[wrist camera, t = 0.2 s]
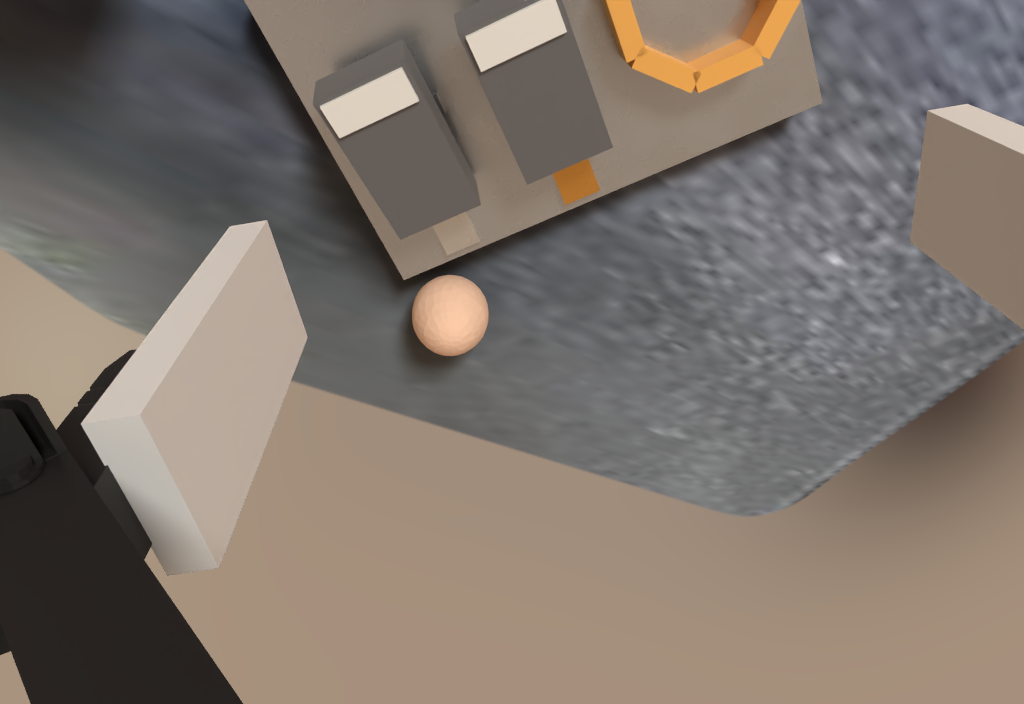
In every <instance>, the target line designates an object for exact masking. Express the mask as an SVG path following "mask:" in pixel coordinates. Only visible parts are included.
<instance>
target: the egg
mask: <svg viewBox="0 0 1024 704" xmlns="http://www.w3.org/2000/svg"><path fill="white" fill-rule="evenodd" d="M488 316H489V314H488V305H487V302H486V299H485V297H484V295H483V293H482V292H481V290H480V289H479V288H478V287H477V286H476V285H475V284H474V283H473V282H471V281H470V280H468V279H466V278H464V277H461V276H456V275H445V276H439V277H436V278H434V279H432V280H431V281H429V282H428V283H427V284H425V285H424V286H423V287H422V288H421V289H420V291H419V292H418V294H417V296H416V298H415V300H414V303H413V308H412V323H413V328H414V330H415V332H416V335H417V337H418V338H419V340H420V341H421V342H422V343H423V344H424V345H425V346H426V347H427V348H428V349H430V350H431V351H433V352H434V353H437V354H439V355H443V356H456V355H460V354H463V353H465V352H467V351H469V350H470V349H472V348H473V347H474V346H476V345H477V344H478V343H479V341H480V340H481V339H482V337H483V335H484V333H485V330H486V327H487V324H488Z"/></svg>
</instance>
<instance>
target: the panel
mask: <svg viewBox="0 0 1024 704" xmlns="http://www.w3.org/2000/svg"><path fill="white" fill-rule="evenodd" d="M244 1H245V3H246V4H247V6H248V8H249V10H250V11H251V13H252V15H253V17H254V18H255V20H256V22H257V24H258V25H259V27H260V29H261V31H262V33H263V34H264V36H265V38H266V40H267V41H268V43H269V45H270V47H271V48H272V50H273V52H274V54H275V55H276V57H277V59H278V61H279V62H280V64H281V66H282V68H283V69H284V71H285V73H286V75H287V76H288V78H289V80H290V82H291V83H292V85H293V87H294V89H295V90H296V92H297V94H298V96H299V97H300V99H301V101H302V103H303V104H304V106H305V108H306V110H307V111H308V113H309V115H310V117H311V118H312V120H313V122H314V124H315V125H316V127H317V129H318V131H319V132H320V134H321V136H322V138H323V139H324V141H325V143H326V145H327V146H328V148H329V150H330V152H331V153H332V155H333V157H334V159H335V160H336V162H337V164H338V166H339V167H340V169H341V171H342V173H343V174H344V176H345V178H346V180H347V181H348V183H349V185H350V187H351V188H352V190H353V192H354V194H355V195H356V197H357V199H358V201H359V202H360V204H361V206H362V208H363V209H364V211H365V213H366V215H367V216H368V218H369V220H370V222H371V223H372V225H373V227H374V229H375V230H376V232H377V234H378V236H379V237H380V239H381V241H382V243H383V244H384V246H385V248H386V250H387V251H388V253H389V255H390V257H391V258H392V260H393V262H394V264H395V265H396V267H397V269H398V271H399V272H400V274H401V276H402V278H403V279H404V280H406V279H408V278H410V277H413V276H415V275H417V274H420V273H422V272H424V271H427V270H429V269H432V268H434V267H436V266H439V265H441V264H443V263H446V262H448V261H450V260H453V259H455V258H457V257H460V256H462V255H465V254H467V253H469V252H472V251H474V250H476V249H479V248H481V247H483V246H486V245H488V244H490V243H493V242H495V241H498V240H500V239H502V238H505V237H507V236H509V235H512V234H514V233H516V232H519V231H521V230H523V229H526V228H528V227H531V226H533V225H535V224H538V223H540V222H542V221H545V220H547V219H549V218H552V217H554V216H556V215H559V214H561V213H564V212H566V211H568V210H571V209H573V208H575V207H578V206H580V205H582V204H585V203H587V202H590V201H592V200H594V199H597V198H599V197H601V196H604V195H606V194H608V193H611V192H613V191H615V190H618V189H620V188H623V187H625V186H627V185H630V184H632V183H634V182H637V181H639V180H641V179H644V178H646V177H648V176H651V175H653V174H656V173H658V172H660V171H663V170H665V169H667V168H670V167H672V166H674V165H677V164H679V163H681V162H684V161H686V160H689V159H691V158H693V157H696V156H698V155H700V154H703V153H705V152H707V151H710V150H712V149H715V148H717V147H719V146H722V145H724V144H726V143H729V142H731V141H733V140H736V139H738V138H740V137H743V136H745V135H748V134H750V133H752V132H755V131H757V130H759V129H762V128H764V127H766V126H769V125H771V124H773V123H776V122H778V121H781V120H783V119H785V118H788V117H790V116H792V115H795V114H797V113H799V112H802V111H804V110H806V109H809V108H811V107H814V106H816V105H818V104H821V103H822V98H821V94H820V89H819V84H818V79H817V74H816V69H815V64H814V59H813V54H812V49H811V44H810V40H809V35H808V30H807V25H806V20H805V15H804V10H803V5H802V0H801V1H800V3H799V5H798V7H797V9H796V10H795V12H794V14H793V16H792V18H791V20H790V22H789V23H788V25H787V27H786V29H785V31H784V33H783V35H782V37H781V38H780V40H779V42H778V44H777V46H776V48H775V50H774V51H773V53H772V55H771V57H770V59H768V58H766V57H763V56H762V60H763V64H764V65H762V66H759V67H757V68H755V69H753V70H750V71H748V72H746V73H743V74H741V75H739V76H737V77H734V78H732V79H730V80H727V81H725V82H723V83H721V84H718V85H716V86H714V87H712V88H709V89H707V90H705V91H702V92H700V93H697V92H696V91H695V90H694V89H693V91H692V93H689V92H687V91H684V90H682V89H680V88H677V87H675V86H673V85H670V84H668V83H665V82H663V81H661V80H658V79H656V78H654V77H651V76H649V75H647V74H644V73H642V72H640V71H637V70H635V69H632V68H631V67H630V66H629V65H628V64H627V63H626V62H625V61H624V59H623V58H622V57H621V56H620V55H619V52H618V49H617V46H616V43H615V40H614V37H613V34H612V31H611V28H610V25H609V22H608V19H607V16H606V13H605V10H604V7H603V4H602V1H601V0H562V1H563V4H564V7H565V10H566V13H567V16H568V19H569V22H570V24H571V27H572V30H573V33H574V36H575V39H576V42H577V45H578V47H579V50H580V53H581V56H582V59H583V62H584V65H585V68H586V71H587V73H588V76H589V79H590V82H591V85H592V88H593V91H594V94H595V96H596V99H597V102H598V105H599V108H600V111H601V114H602V117H603V120H604V122H605V125H606V128H607V131H608V134H609V137H610V140H611V143H612V145H613V148H611V149H609V150H606V151H604V152H602V153H599V154H597V155H595V156H592V157H590V158H588V159H586V160H583V161H581V162H579V163H576V164H574V165H572V166H569V167H567V168H565V169H563V170H560V171H558V172H556V173H553V174H551V175H549V176H546V177H544V178H542V179H540V180H537V181H535V182H533V183H530V184H528V185H527V183H526V181H525V179H524V177H523V175H522V173H521V170H520V168H519V166H518V164H517V162H516V159H515V157H514V155H513V153H512V151H511V149H510V146H509V144H508V142H507V140H506V138H505V136H504V133H503V131H502V129H501V127H500V125H499V123H498V120H497V118H496V116H495V114H494V112H493V110H492V107H491V105H490V103H489V101H488V99H487V97H486V94H485V92H484V90H483V88H482V86H481V83H480V81H479V79H478V77H477V75H476V73H475V70H474V68H473V66H472V64H471V62H470V60H469V57H468V55H467V53H466V51H465V49H464V47H463V44H462V42H461V40H460V38H459V36H458V32H457V28H456V23H455V19H454V14H455V13H457V12H459V11H461V10H463V9H465V8H467V7H469V6H472V5H474V4H476V3H478V2H480V1H482V0H244ZM630 1H631V4H632V7H633V10H634V14H635V17H636V20H637V23H638V26H639V29H640V32H641V36H642V39H643V42H644V45H646V46H648V47H651V48H653V49H655V50H658V51H660V52H662V53H665V54H667V55H669V56H671V57H674V58H676V59H678V60H681V61H683V62H685V63H688V62H690V61H693V60H695V59H697V58H699V57H702V56H704V55H706V54H708V53H711V52H713V51H715V50H717V49H719V48H722V47H724V46H726V45H728V44H731V43H733V42H735V41H737V40H740V39H741V37H742V35H743V33H744V31H745V29H746V27H747V25H748V23H749V21H750V19H751V17H752V15H753V14H754V12H755V10H756V8H757V6H758V4H759V2H760V0H630ZM402 39H404V41H405V43H406V45H407V47H408V49H409V51H410V53H411V55H412V57H413V59H414V61H415V63H416V65H417V67H418V68H419V70H420V72H421V74H422V76H423V78H424V80H425V82H426V84H427V86H428V88H429V90H430V92H431V94H432V96H433V98H434V99H435V101H436V103H437V105H438V107H439V109H440V111H441V113H442V115H443V117H444V119H445V121H446V123H447V125H448V127H449V128H450V130H451V132H452V134H453V136H454V138H455V140H456V142H457V144H458V146H459V148H460V150H461V152H462V154H463V156H464V158H465V159H466V161H467V163H468V165H469V167H470V169H471V171H472V173H473V175H474V177H475V179H476V182H477V187H478V192H479V197H480V203H481V205H480V206H477V207H475V208H473V209H471V210H468V211H466V212H464V213H461V214H459V215H457V216H454V217H452V218H450V219H448V220H445V221H443V222H441V223H438V224H436V225H434V226H431V227H429V228H427V229H425V230H422V231H420V232H418V233H415V234H413V235H411V236H408V237H406V238H404V239H402V240H400V239H399V237H398V236H397V234H396V232H395V231H394V229H393V228H392V226H391V225H390V223H389V222H388V220H387V219H386V217H385V215H384V214H383V212H382V211H381V209H380V208H379V206H378V205H377V203H376V202H375V200H374V198H373V197H372V195H371V194H370V192H369V191H368V189H367V188H366V186H365V185H364V183H363V181H362V180H361V178H360V177H359V175H358V174H357V172H356V171H355V169H354V168H353V166H352V164H351V163H350V161H349V160H348V158H347V157H346V155H345V154H344V152H343V151H342V149H341V147H340V146H339V144H338V143H337V141H336V140H335V138H334V137H333V135H332V134H331V132H330V130H329V129H328V127H327V126H326V124H325V123H324V121H323V120H322V118H321V117H320V115H319V113H318V112H317V110H316V109H315V107H314V106H313V98H314V90H315V83H316V81H317V80H319V79H321V78H324V77H326V76H328V75H330V74H332V73H334V72H336V71H338V70H340V69H342V68H344V67H346V66H348V65H350V64H352V63H354V62H356V61H358V60H361V59H363V58H365V57H367V56H369V55H371V54H373V53H375V52H377V51H379V50H381V49H383V48H385V47H387V46H389V45H391V44H393V43H395V42H398V41H400V40H402Z"/></svg>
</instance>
